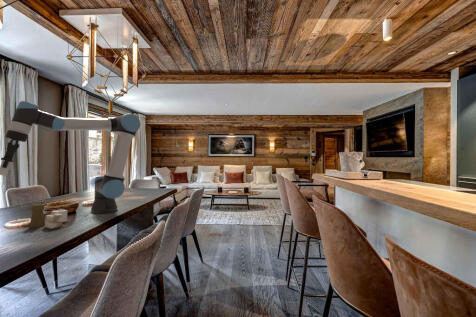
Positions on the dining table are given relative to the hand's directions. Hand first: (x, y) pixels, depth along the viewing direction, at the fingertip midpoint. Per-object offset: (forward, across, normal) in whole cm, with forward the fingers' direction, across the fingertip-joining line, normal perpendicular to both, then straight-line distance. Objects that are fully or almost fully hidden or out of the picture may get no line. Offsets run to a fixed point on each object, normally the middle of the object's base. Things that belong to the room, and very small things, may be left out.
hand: (2, 174), depth 107 cm
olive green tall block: (+23, -2, +19) cm, 30 cm away
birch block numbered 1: (+21, +5, +25) cm, 33 cm away
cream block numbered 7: (+20, -4, +28) cm, 35 cm away
